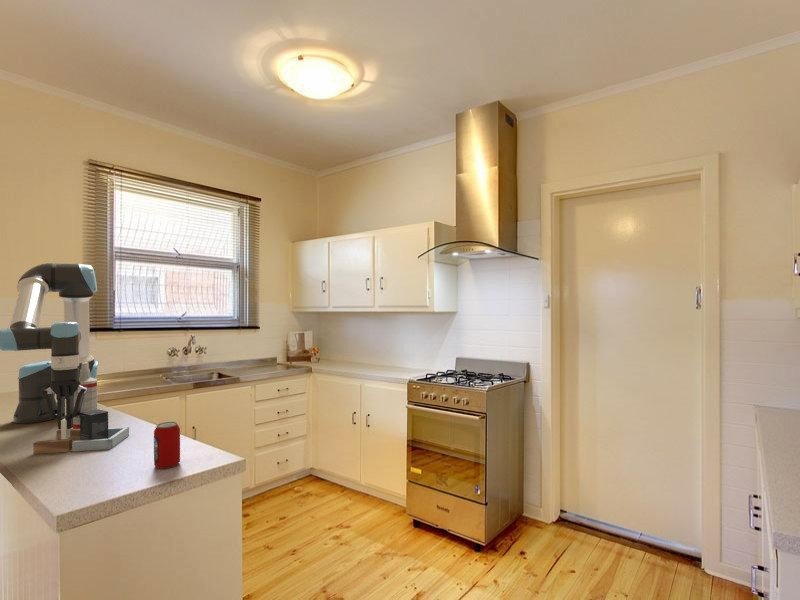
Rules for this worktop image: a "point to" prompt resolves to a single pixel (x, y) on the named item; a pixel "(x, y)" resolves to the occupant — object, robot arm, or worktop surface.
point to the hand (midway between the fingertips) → (65, 438)
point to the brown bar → (56, 443)
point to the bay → (103, 440)
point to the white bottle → (90, 395)
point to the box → (93, 424)
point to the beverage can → (166, 445)
